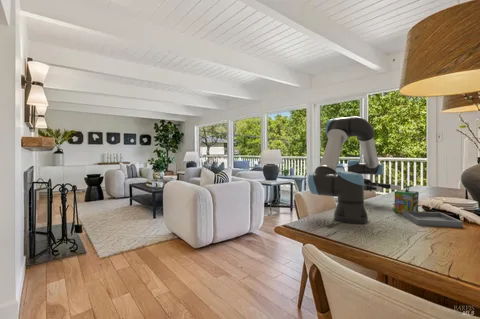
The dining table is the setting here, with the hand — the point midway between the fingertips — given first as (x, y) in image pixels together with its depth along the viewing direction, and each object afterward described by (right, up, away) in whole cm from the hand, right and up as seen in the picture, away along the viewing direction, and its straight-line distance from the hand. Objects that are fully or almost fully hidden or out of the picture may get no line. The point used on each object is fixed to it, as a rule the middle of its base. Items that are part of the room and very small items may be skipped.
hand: (391, 188), depth 144 cm
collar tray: (+2, -12, -27) cm, 30 cm away
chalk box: (+2, -12, -9) cm, 15 cm away
